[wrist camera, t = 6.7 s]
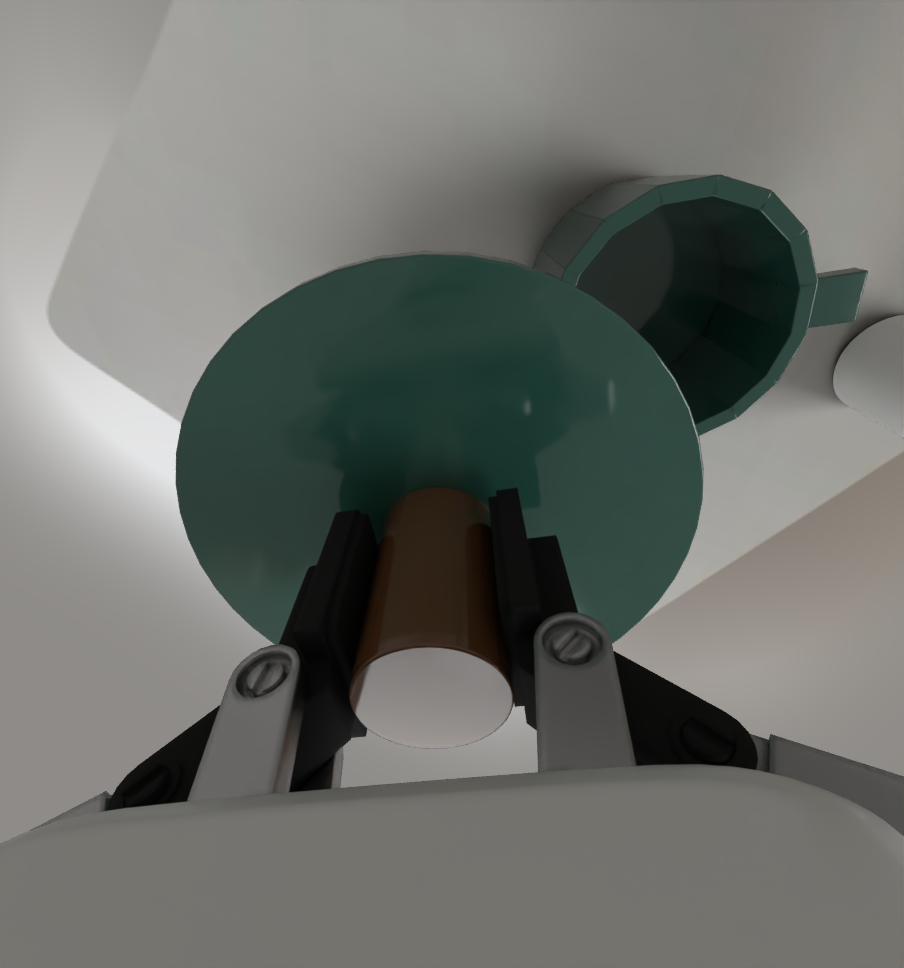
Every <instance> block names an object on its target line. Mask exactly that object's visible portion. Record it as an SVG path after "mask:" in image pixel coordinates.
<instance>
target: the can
mask: <svg viewBox="0 0 904 968" xmlns="http://www.w3.org/2000/svg"><path fill="white" fill-rule="evenodd" d="M833 387H834V390H835V393H836V395H837V396H838V398H839V399H840V400H841V401H842V402H843V403H845V404H846V405H848V406H849V407H851V408H853V409H854V410H856V411H858V412H859V413H861V414H863V415H864V416H866V417H868V418H870V419H871V420H873V421H875V422H876V423H878V424H880V425H882V426H883V427H885V428H887V429H889V430H890V431H892V432H894V433H895V434H897V435H899V436H901V437H902V438H904V315H899V316H894V317H890V318H887V319H884V320H882V321H880V322H877V323H875V324H874V325H872V326H870V327H869V328H867V329H865V330H864V331H862V332H861V333H860V334H858V335H857V336H856V337H855V338H854V339H853V340H852V341H851V342H850V343H849V344H848V345H847V346H846V348H845V349H844V350H843V352H842V353H841V355H840V357H839V359H838V361H837V363H836V366H835V370H834V375H833Z"/></svg>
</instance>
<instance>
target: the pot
mask: <svg viewBox="0 0 904 968" xmlns="http://www.w3.org/2000/svg"><path fill="white" fill-rule="evenodd" d="M533 268H535V269H538V270H541V271H544V272H547V273H550V274H552V275H554V276H556V277H558V278H560V279H562V280H564V281H566V282H568V283H570V284H572V285H574V286H576V287H578V288H580V289H582V290H584V291H586V292H588V293H589V294H590V295H592V296H593V297H594V298H596V299H597V300H599V301H600V302H601V303H603V304H604V305H606V306H607V307H608V308H610V309H611V310H613V311H614V312H615V313H617V314H618V315H620V316H621V317H622V318H623V319H624V320H626V321H627V322H628V323H629V324H630V325H631V326H632V327H633V328H634V329H635V330H636V331H637V332H638V333H639V334H640V335H641V336H642V337H643V338H644V339H645V340H646V341H647V342H648V343H649V344H650V345H651V346H652V347H653V348H654V350H655V351H656V352H657V354H658V355H659V356H660V358H661V359H662V361H663V362H664V363H665V365H666V366H667V367H668V369H669V370H670V371H671V373H672V374H673V376H674V377H675V379H676V381H677V383H678V385H679V387H680V389H681V391H682V393H683V395H684V397H685V399H686V401H687V403H688V405H689V407H690V410H691V413H692V416H693V419H694V423H695V426H696V429H697V432H698V436H700V435H702V434H704V433H706V432H708V431H710V430H713V429H715V428H717V427H719V426H721V425H723V424H725V423H727V422H730V421H732V420H734V419H736V418H737V417H739V416H740V415H741V414H742V413H743V412H744V411H746V410H747V409H748V408H749V407H750V406H751V405H752V404H753V403H755V402H756V401H757V400H758V399H759V398H760V397H761V396H762V395H764V394H765V393H766V392H767V391H768V390H769V389H770V388H771V387H773V386H774V385H775V384H776V383H777V382H778V381H779V379H780V377H781V376H782V374H783V373H784V371H785V369H786V368H787V366H788V364H789V363H790V361H791V360H792V358H793V356H794V355H795V353H796V351H797V350H798V348H799V346H800V345H801V343H802V342H803V340H804V338H805V337H806V334H807V331H808V328H812V327H819V326H825V325H832V324H839V323H846V322H853V321H855V320H856V317H857V313H858V309H859V305H860V301H861V297H862V294H863V290H864V286H865V282H866V278H867V274H868V271H867V270H862V269H858V268H850V269H843V270H837V271H830V272H824V273H818V274H817V273H816V268H815V263H814V259H813V254H812V249H811V245H810V240H809V235H808V231H807V230H806V228H805V227H804V226H803V225H802V223H801V222H800V221H799V220H798V219H797V218H796V217H795V216H794V214H793V213H792V212H791V211H790V210H789V209H788V208H787V207H786V206H785V204H784V203H783V202H782V201H781V200H780V199H779V198H778V197H777V195H776V194H775V193H774V192H772V190H769V189H766V188H763V187H759V186H756V185H753V184H750V183H746V182H743V181H740V180H737V179H733V178H730V177H727V176H724V175H672V176H651V177H646V178H640V179H632V180H627V181H623V182H617V183H612V184H609V185H607V186H606V187H604V188H603V189H601V190H599V191H597V192H595V193H594V194H592V195H590V196H588V197H587V198H585V199H584V200H583V201H581V202H580V203H579V204H577V205H576V206H575V207H573V208H572V209H570V211H569V212H568V213H567V214H566V215H565V216H564V217H563V218H562V219H561V220H560V222H559V223H558V224H557V225H556V226H555V227H554V229H553V230H552V232H551V233H550V235H549V236H548V238H547V239H546V241H545V242H544V244H543V246H542V247H541V249H540V251H539V254H538V256H537V259H536V262H535V264H534V267H533Z"/></svg>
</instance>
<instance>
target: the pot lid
mask: <svg viewBox="0 0 904 968" xmlns="http://www.w3.org/2000/svg"><path fill="white" fill-rule="evenodd" d="M176 488H177V495H178V502H179V508H180V514H181V517H182V520H183V524H184V527H185V530H186V533H187V537H188V540H189V542H190V544H191V546H192V548H193V550H194V552H195V554H196V557H197V559H198V561H199V563H200V565H201V566H202V568H203V570H204V571H205V573H206V574H207V576H208V577H209V579H210V580H211V582H212V584H213V585H214V587H215V588H216V589H217V590H218V591H219V593H220V594H221V595H222V596H223V597H224V599H225V600H226V601H227V602H228V603H229V605H230V606H231V607H232V608H233V609H234V610H235V611H236V612H237V613H238V614H239V615H240V616H241V617H242V618H243V619H244V620H245V621H246V622H247V623H248V624H249V625H250V626H252V627H253V628H254V629H255V630H257V631H258V632H259V633H261V634H262V635H263V636H265V637H266V638H267V639H268V640H270V641H271V642H272V643H274V644H275V645H279V642H280V639H281V637H282V634H283V632H284V629H285V627H286V624H287V621H288V619H289V616H290V614H291V611H292V608H293V606H294V603H295V601H296V598H297V595H298V593H299V590H300V588H301V585H302V582H303V580H304V577H305V575H306V572H307V570H308V568H309V567H311V566H314V565H317V563H318V560H319V557H320V555H321V552H322V549H323V546H324V544H325V541H326V538H327V536H328V533H329V530H330V527H331V525H332V522H333V519H334V516H335V514H336V513H337V512H341V511H349V510H356V509H358V510H360V512H361V514H368V516H369V518H370V521H371V524H372V527H373V531H374V534H375V537H376V540H377V544H378V552H377V557H376V561H375V566H374V571H373V575H372V580H371V585H370V590H369V594H368V599H367V604H366V608H365V613H364V618H363V622H362V627H361V632H360V636H359V641H358V646H357V650H356V655H355V660H354V664H353V669H352V674H351V678H350V683H349V689H348V697H349V703H350V706H351V709H352V711H353V713H354V714H355V716H356V717H357V719H358V720H359V721H360V722H361V723H362V724H363V725H364V726H365V727H366V728H367V729H369V730H370V731H372V732H373V733H375V734H376V735H378V736H380V737H382V738H384V739H386V740H388V741H391V742H394V743H397V744H401V745H405V746H409V747H415V748H425V749H442V748H443V749H444V748H452V747H458V746H462V745H467V744H470V743H473V742H476V741H478V740H481V739H483V738H485V737H487V736H488V735H490V734H492V733H493V732H494V731H496V730H497V729H498V728H499V727H500V726H502V725H503V723H504V722H505V721H506V720H507V718H508V716H509V715H510V713H511V710H512V707H513V704H514V686H513V678H512V669H511V663H510V659H509V657H508V655H507V653H506V649H505V643H504V637H503V630H502V624H501V618H500V611H499V603H498V594H497V583H496V573H495V563H494V552H493V542H492V532H491V522H490V511H489V501H488V497H494V496H497V495H496V490H503V489H510V488H518V493H519V498H520V503H521V509H522V514H523V519H524V524H525V529H526V534H527V539H528V538H536V537H544V536H552V535H556V536H557V539H558V542H559V546H560V549H561V553H562V556H563V560H564V564H565V567H566V571H567V574H568V578H569V581H570V585H571V588H572V592H573V596H574V599H575V603H576V606H577V610H578V613H582V614H585V615H588V616H591V617H593V618H594V619H596V620H597V621H599V622H600V623H601V624H602V625H603V626H604V627H605V628H606V629H607V631H608V633H609V636H610V638H611V642H612V643H614V642H615V641H617V640H618V639H620V638H621V637H622V636H623V635H624V634H626V633H627V632H628V631H629V630H630V629H631V628H632V627H634V626H635V625H636V624H637V623H638V622H640V621H641V620H642V619H643V618H644V616H645V615H646V614H647V613H648V612H649V611H650V610H651V609H652V608H653V607H654V606H655V604H656V603H657V602H658V601H659V600H660V599H661V597H662V596H663V594H664V593H665V592H666V590H667V589H668V587H669V586H670V585H671V583H672V582H673V580H674V579H675V577H676V575H677V573H678V571H679V570H680V568H681V566H682V564H683V562H684V560H685V558H686V556H687V554H688V552H689V549H690V546H691V543H692V541H693V538H694V535H695V532H696V529H697V525H698V520H699V515H700V510H701V505H702V499H703V462H702V454H701V447H700V439H699V436H698V432H697V429H696V426H695V423H694V419H693V416H692V413H691V410H690V407H689V405H688V403H687V401H686V399H685V397H684V395H683V393H682V391H681V389H680V387H679V385H678V383H677V381H676V379H675V377H674V376H673V374H672V373H671V371H670V370H669V369H668V367H667V366H666V365H665V363H664V362H663V361H662V359H661V358H660V356H659V355H658V354H657V352H656V351H655V350H654V348H653V347H652V346H651V345H650V344H649V343H648V342H647V341H646V340H645V339H644V338H643V337H642V336H641V335H640V334H639V333H638V332H637V331H636V330H635V329H634V328H633V327H632V326H631V325H630V324H629V323H628V322H627V321H626V320H624V319H623V318H622V317H621V316H620V315H618V314H617V313H615V312H614V311H613V310H611V309H610V308H608V307H607V306H606V305H604V304H603V303H601V302H600V301H599V300H597V299H596V298H594V297H593V296H592V295H590V294H589V293H588V292H586V291H584V290H582V289H580V288H578V287H576V286H574V285H572V284H570V283H568V282H566V281H564V280H562V279H560V278H558V277H556V276H554V275H552V274H550V273H547V272H544V271H541V270H538V269H535V268H532V267H529V266H526V265H523V264H520V263H517V262H514V261H511V260H507V259H501V258H496V257H490V256H484V255H479V254H473V253H467V252H439V251H420V252H411V253H401V254H392V255H383V256H378V257H374V258H371V259H367V260H363V261H359V262H355V263H351V264H348V265H344V266H340V267H338V268H335V269H333V270H331V271H328V272H326V273H324V274H321V275H319V276H317V277H314V278H312V279H310V280H307V281H305V282H303V283H301V284H300V285H298V286H296V287H295V288H293V289H292V290H290V291H288V292H287V293H285V294H284V295H282V296H280V297H279V298H277V299H276V300H274V301H272V302H271V303H269V304H268V305H266V306H264V307H263V308H262V309H260V310H259V311H258V312H257V313H256V314H255V315H254V316H252V317H251V318H250V319H249V320H248V321H247V322H246V323H244V324H243V325H242V326H241V327H240V328H239V329H237V330H236V331H235V332H234V333H233V334H232V335H231V336H230V338H229V339H228V340H227V341H226V343H225V344H224V345H223V346H222V347H221V349H220V350H219V351H218V352H217V353H216V355H215V356H214V357H213V358H212V360H211V361H210V362H209V364H208V366H207V367H206V369H205V371H204V373H203V374H202V376H201V378H200V380H199V381H198V383H197V385H196V387H195V388H194V390H193V392H192V395H191V398H190V401H189V403H188V406H187V409H186V412H185V414H184V417H183V420H182V423H181V429H180V434H179V440H178V445H177V451H176Z"/></svg>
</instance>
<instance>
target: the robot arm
mask: <svg viewBox="0 0 904 968" xmlns="http://www.w3.org/2000/svg"><path fill="white" fill-rule="evenodd" d="M496 495H497V496H494V497H488V501H489V511H490V522H491V532H492V542H493V552H494V563H495V573H496V583H497V594H498V603H499V611H500V618H501V624H502V630H503V637H504V643H505V649H506V653H507V655H508V657H509V659H510V663H511V669H512V678H513V686H514V704H515V707H516V706H525V713H526V720H527V724H529V725H530V726H531V727H533V728H534V729H536V730H537V747H538V748H537V751H538V773H524V774H510V775H498V776H486V777H485V776H484V777H471V778H458V779H445V780H433V781H421V782H409V783H398V784H397V783H396V784H385V785H372V786H360V787H348V788H340V786H341V776H342V766H343V746H344V745H345V744H346V743H347V742H348V741H349V740H351V738H353V737H364V736H366V732H367V728H366V727H365V726H364V725H363V724H362V723H361V722H360V721H359V720H358V719H357V717H356V716H355V714H354V713H353V711H352V709H351V706H350V703H349V697H348V689H349V683H350V678H351V674H352V669H353V664H354V660H355V655H356V650H357V646H358V641H359V636H360V632H361V627H362V622H363V618H364V613H365V608H366V604H367V599H368V594H369V590H370V585H371V580H372V575H373V571H374V566H375V561H376V557H377V552H378V544H377V540H376V537H375V534H374V531H373V527H372V524H371V521H370V518H369V516H368V514H361V512H360V510H358V509H356V510H349V511H341V512H337V513H336V514H335V516H334V519H333V522H332V525H331V527H330V530H329V533H328V536H327V538H326V541H325V544H324V546H323V549H322V552H321V555H320V557H319V560H318V563H317V565H314V566H311V567H309V568H308V570H307V572H306V575H305V577H304V580H303V582H302V585H301V588H300V590H299V593H298V595H297V598H296V601H295V603H294V606H293V608H292V611H291V614H290V616H289V619H288V621H287V624H286V627H285V629H284V632H283V634H282V637H281V639H280V642H279V645H271V646H268V647H264V648H261V649H259V650H257V651H256V652H254V653H252V654H250V655H249V656H248V657H246V658H245V659H244V660H243V661H242V662H241V663H240V664H239V665H238V666H237V667H236V669H235V670H234V671H233V673H232V675H231V677H230V679H229V682H228V685H227V688H226V690H225V693H224V696H223V699H222V702H221V705H220V706H218V707H217V708H215V709H214V710H213V711H211V712H210V713H209V714H207V715H206V716H205V717H203V718H202V719H200V720H199V721H198V722H196V723H195V724H194V725H192V726H191V727H190V728H188V729H187V730H186V731H184V732H183V733H182V734H180V735H179V736H177V737H176V738H175V739H173V740H172V741H171V742H169V743H168V744H167V745H165V746H164V747H162V748H161V749H160V750H159V751H157V752H156V753H154V754H153V755H152V756H150V757H149V758H148V759H146V760H145V761H144V762H142V763H141V764H139V765H138V766H137V767H136V768H135V769H134V770H133V771H131V772H130V773H129V774H128V775H127V776H126V777H125V778H124V780H123V781H122V782H121V783H120V784H119V786H118V787H117V788H116V790H115V792H114V794H113V795H110V794H109V793H108V792H107V791H105V792H103V793H101V794H99V795H97V796H96V797H94V798H92V799H90V800H88V801H86V802H84V803H82V804H80V805H78V806H76V807H74V808H72V809H70V810H68V811H67V812H65V813H63V814H61V815H59V816H57V817H55V818H53V819H51V820H49V821H47V822H45V823H44V824H42V825H39V826H38V827H36V828H34V829H32V830H30V831H28V832H25V833H23V834H20V835H18V836H16V837H14V838H12V839H10V840H8V841H5V842H3V843H1V844H0V968H904V777H903V776H900V775H897V774H894V773H891V772H888V771H885V770H882V769H878V768H875V767H872V766H869V765H866V764H863V763H860V762H856V761H853V760H850V759H847V758H844V757H841V756H838V755H834V754H831V753H828V752H825V751H822V750H819V749H816V748H812V747H809V746H806V745H803V744H800V743H797V742H793V741H790V740H787V739H784V738H781V737H778V736H775V735H771V734H770V738H769V740H767V739H764V738H761V737H758V736H755V735H752V734H749V732H748V731H747V730H746V729H745V728H744V727H743V726H742V725H741V724H740V722H738V721H737V720H736V719H735V718H733V717H732V716H730V715H729V714H727V713H726V712H724V711H722V710H721V709H719V708H717V707H715V706H713V705H712V704H710V703H707V702H706V701H704V700H702V699H700V698H699V697H697V696H695V695H693V694H691V693H690V692H688V691H686V690H684V689H682V688H680V687H679V686H677V685H675V684H673V683H671V682H669V681H668V680H666V679H664V678H662V677H660V676H658V675H657V674H655V673H653V672H651V671H649V670H648V669H646V668H644V667H642V666H640V665H638V664H637V663H635V662H633V661H631V660H629V659H627V658H626V657H624V656H622V655H620V654H618V653H616V652H615V651H613V647H612V642H611V638H610V636H609V633H608V631H607V629H606V628H605V627H604V626H603V625H602V624H601V623H600V622H599V621H597V620H596V619H594V618H593V617H591V616H588V615H585V614H582V613H578V610H577V606H576V603H575V599H574V596H573V592H572V588H571V585H570V581H569V578H568V574H567V571H566V567H565V564H564V560H563V556H562V553H561V549H560V546H559V542H558V539H557V536H556V535H552V536H544V537H536V538H528V539H527V534H526V529H525V524H524V519H523V514H522V509H521V503H520V498H519V493H518V488H510V489H503V490H496Z"/></svg>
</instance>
